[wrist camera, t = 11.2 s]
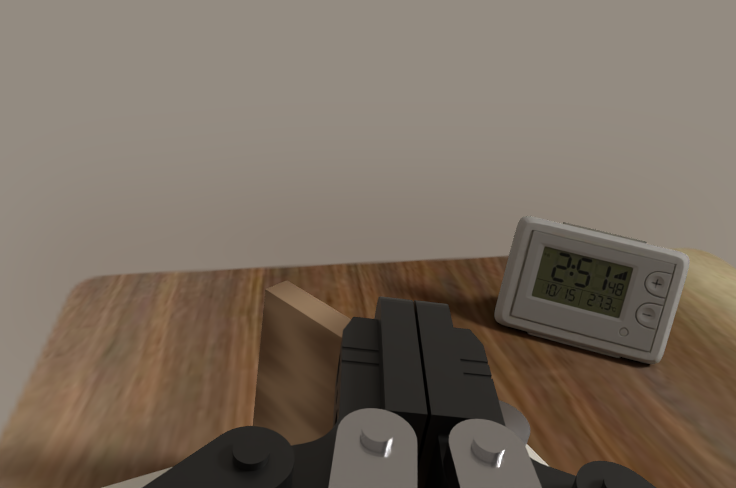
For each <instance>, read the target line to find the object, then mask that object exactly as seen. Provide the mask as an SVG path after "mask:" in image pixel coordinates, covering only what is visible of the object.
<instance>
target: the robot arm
mask: <svg viewBox="0 0 736 488" xmlns="http://www.w3.org/2000/svg"><path fill="white" fill-rule="evenodd" d="M491 376H492V375H491V372H490V368H489V365H488V361H487V357H486V354H485V350H484V346H483V344H482V343H481V342H480V341H479V340H478V339H477V337H476V336H475V335H474V334H473V333H472V332H471V330H470V329H461V328H453V324H452V319H451V314H450V310H449V306H448V304H442V303H433V302H424V301H416V300H415V301H414V302H413V301H412V300H406V299H397V298H388V297H379V298H378V302H377V307H376V313H375V319H369V318H360V317H353V318H352V319H351V321H350V322H349V323H348V324H347V326H346V327H345V328H344V329H343V334H342V341H341V348H340V355H339V362H338V368H337V375H336V382H335V395H334V413H333V428H332V429H331V430H330V432H328V433H327V434H326V435H324V436H323V437H321V438H319V439H317V440H314V441H311V442H307V443H302V444H297V445H290V443H289V442H288V441H287V439H285V438H284V437H283V436H282V435H281V434H279V433H277V432H276V431H273V430H271V429H268V428H264V427H258V426H245V427H239V428H235V429H232V430H229V431H227V432H225V433H224V434H222V435H220V436H219V437H217V438H216V439H214V440H213V441H211V442H210V443H208V444H207V445H205V446H204V447H202V448H201V449H199V450H198V451H196V452H195V453H193V454H192V455H190V456H189V457H187V458H186V459H184V460H183V461H181V462H180V463H178V464H177V465H175V466H174V467H172V468H171V469H169V470H168V471H166V472H165V473H163V474H162V475H160V476H159V477H157V478H156V479H154V480H153V481H151V482H150V483H148V484H147V485H145V486H144V487H142V488H656V487H655V486H653V485H652V484H651V483H649V482H648V481H647V480H645V479H644V478H643V477H641V476H640V475H638V474H637V473H635V472H634V471H632V470H630V469H629V468H627V467H624V466H622V465H619V464H616V463H613V462H607V461H593V462H590V463H587V464H585V465H583V466H582V467H581V468H580V470H579V471H578V473H577V476H574V475H571V474H569V473H566V472H563V471H560V470H557V469H554V468H552V467H549V466H546V465H544V464H541V463H539V462H537V461H536V460H534V459H532V458H531V457H530V456H529V454H528V451H527V449H526V447H525V445H524V443H523V442H522V440H521V439H520V438H519V437H518V436H517V435H516V434H515V433H514V432H513V431H511V430H510V429H508V428H507V427H506V426H505V422H504V418H503V415H502V411H501V408H500V404H499V400H498V397H497V393H496V390H495V386H494V382H493V379H491Z"/></svg>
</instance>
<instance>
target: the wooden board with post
mask: <svg viewBox="0 0 736 488" xmlns="http://www.w3.org/2000/svg"><path fill="white" fill-rule="evenodd" d="M350 321H351V319H350V318H348V317H346V316H345V315H343V314H341V313H340V312H338V311H336V310H335V309H333V308H331V307H330V306H328V305H327V304H325V303H323V302H322V301H320V300H318V299H317V298H315V297H313V296H312V295H310V294H308V293H307V292H305V291H304V290H302V289H300V288H299V287H297V286H295V285H294V284H292V283H290V282H289V281H284V282H282V283H279V284H277V285H274V286H272V287H270V288H267V289H265V299H264V310H263V321H262V332H261V343H260V353H259V364H258V375H257V386H256V397H255V407H254V418H253V426H258V427H264V428H268V429H271V430H273V431H276V432H277V433H279V434H281V435H282V436H283V437H284V438H285V439H287V441H288V442H289V443H290V445H297V444H302V443H307V442H311V441H314V440H317V439H319V438H321V437H323V436H324V435H326V434H327V433H328V432H330V430H331V429H332V428H333V413H334V395H335V382H336V375H337V368H338V362H339V355H340V348H341V341H342V334H343V329H344V328H345V327H346V326H347V324H348V323H349V322H350ZM499 404H500V408H501V411H502V415H503V418H504V422H505V426H506V427H507V428H508V429H510V430H511V431H513V432H514V433H515V434H516V435H517V436H518V437H519V438H520V439H521V440H522V442H523V443H524V445H525V447H526V444H527V441H528V438H529V435H530V426H529V423H528V421H527V419H526V418H525V417H524V416H523V414H522V413H521V412H520V411H518V410H517V409H516V408H514V407H513V406H511V405H509V404H507V403H505V402H502V401H500V400H499Z"/></svg>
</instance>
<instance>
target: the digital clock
mask: <svg viewBox="0 0 736 488" xmlns="http://www.w3.org/2000/svg"><path fill="white" fill-rule="evenodd" d="M688 268H689V257H688V256H687V255H686V254H684V253H682V252H679V251H676V250H671V249H667V248H663V247H659V246H655V245H650V244H646V242H645V241H641V240H637V239H632V238H628V237H624V236H619V235H616V234H611V233H607V232H602V231H599V230H594V229H590V228H586V227H581V226H577V225H573V224H569V223H565V222H564V223H563V224H562V223H558V222H553V221H549V220H545V219H541V218H537V217H531V216H526V217H523V218H521V219H520V221H519V223H518V225H517V228H516V232H515V235H514V239H513V243H512V247H511V250H510V254H509V258H508V262H507V266H506V270H505V273H504V277H503V281H502V285H501V289H500V293H499V296H498V300H497V304H496V308H495V314H494V315H495V320H496V321H497V322H498V323H500V324H502V325H505V326H508V327H512V328H515V329H519V330H523V331H527V332H528V334H529V335H533V336H537V337H541V338H544V339H548V340H552V341H556V342H559V343H563V344H567V345H570V346H574V347H578V348H582V349H585V350H589V351H593V352H597V353H600V354H604V355H608V356H611V357H615V358H619V359H620V357H624V358H628V359H631V360H635V361H639V362H643V363H647V364H656V363H658V362H659V361H660V360H661V358H662V356H663V353H664V350H665V347H666V344H667V340H668V337H669V333H670V330H671V327H672V323H673V320H674V317H675V313H676V310H677V306H678V303H679V300H680V296H681V293H682V289H683V286H684V283H685V279H686V276H687V272H688Z"/></svg>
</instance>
